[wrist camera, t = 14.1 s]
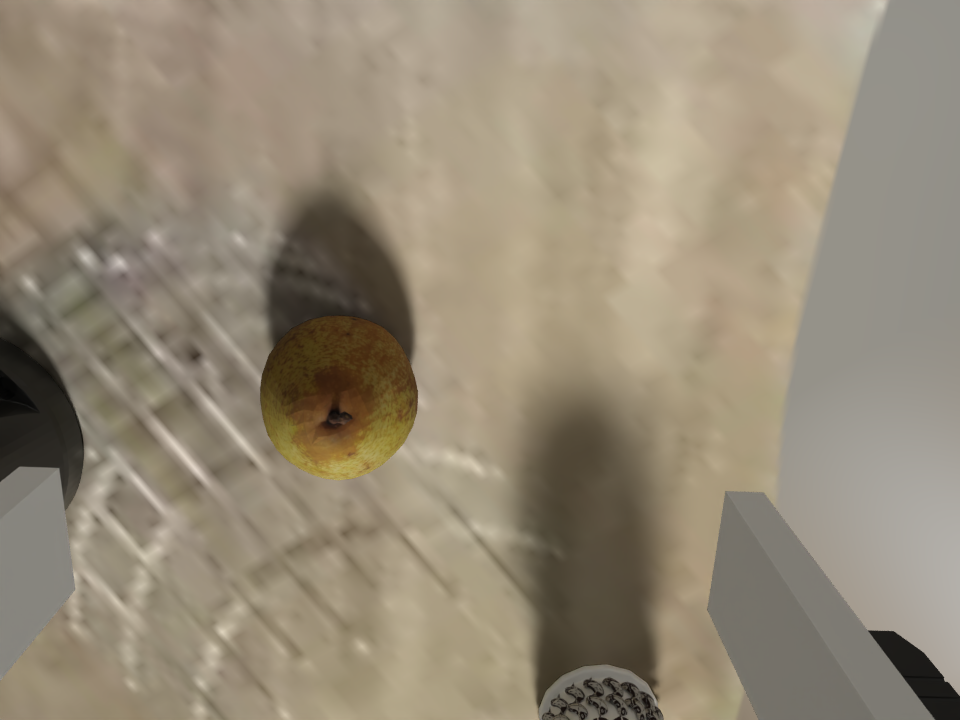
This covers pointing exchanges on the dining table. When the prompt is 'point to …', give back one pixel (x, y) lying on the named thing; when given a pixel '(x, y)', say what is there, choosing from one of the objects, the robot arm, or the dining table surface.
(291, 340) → the fruit
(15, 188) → the dining table surface
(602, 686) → the decorative candle
